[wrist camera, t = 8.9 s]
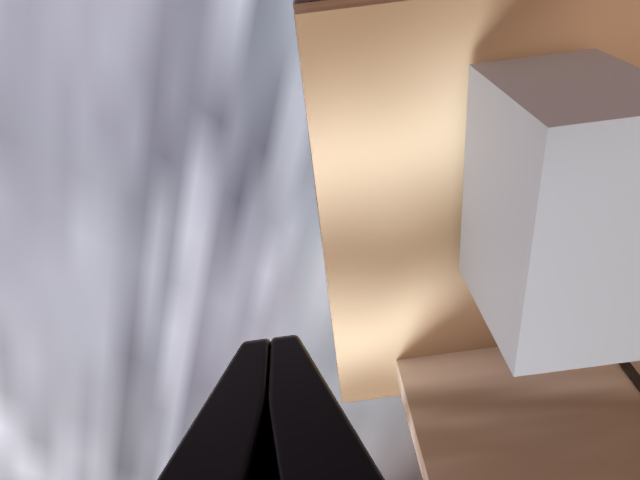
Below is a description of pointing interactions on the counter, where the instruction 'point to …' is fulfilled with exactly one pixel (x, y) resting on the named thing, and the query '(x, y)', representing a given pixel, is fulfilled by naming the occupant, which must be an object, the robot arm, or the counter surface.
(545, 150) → the light grey block
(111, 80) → the counter surface
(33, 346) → the counter surface
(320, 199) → the gauge base
